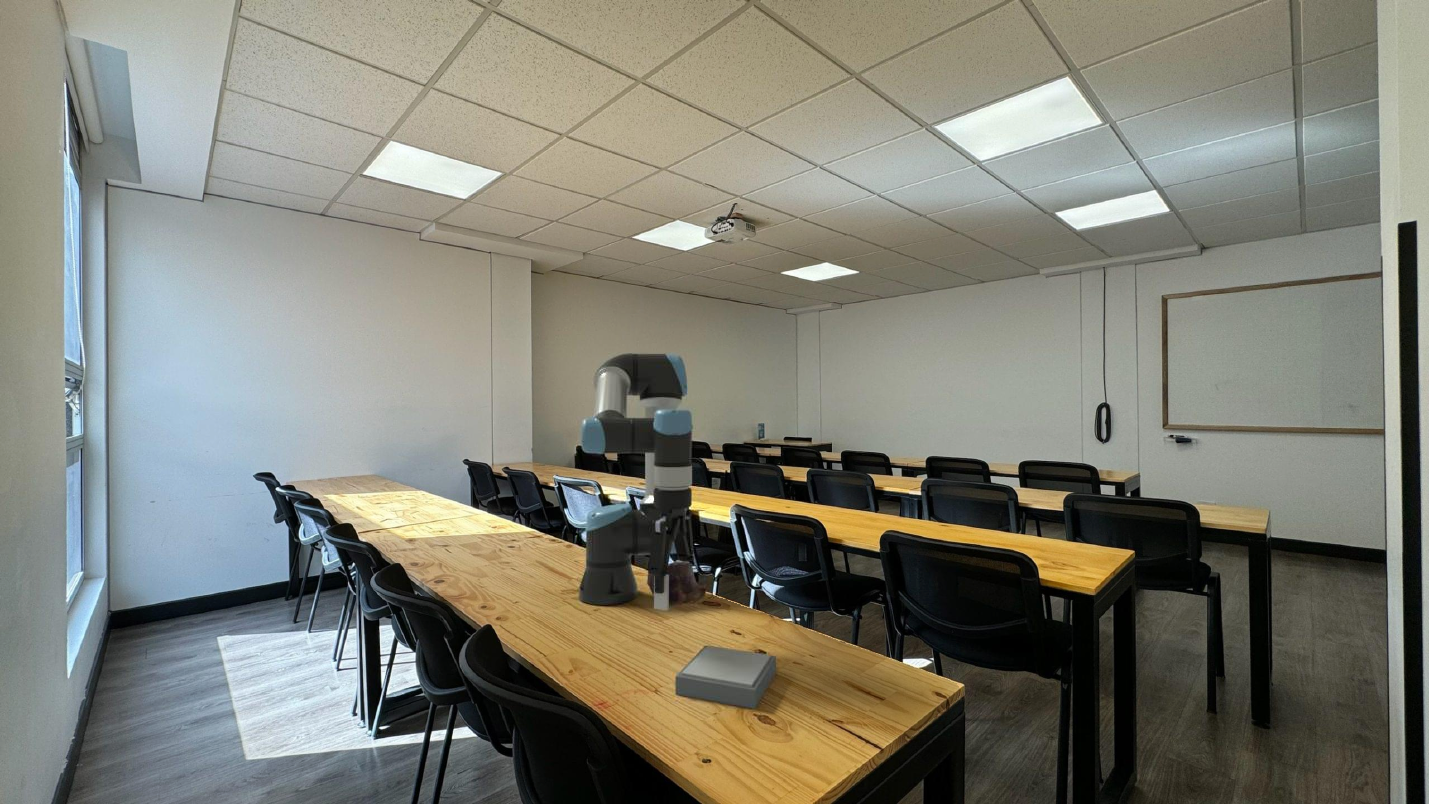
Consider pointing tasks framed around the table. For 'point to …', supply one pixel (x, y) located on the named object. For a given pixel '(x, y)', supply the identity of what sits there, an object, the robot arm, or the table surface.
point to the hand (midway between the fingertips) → (672, 600)
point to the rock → (681, 584)
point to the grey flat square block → (727, 676)
